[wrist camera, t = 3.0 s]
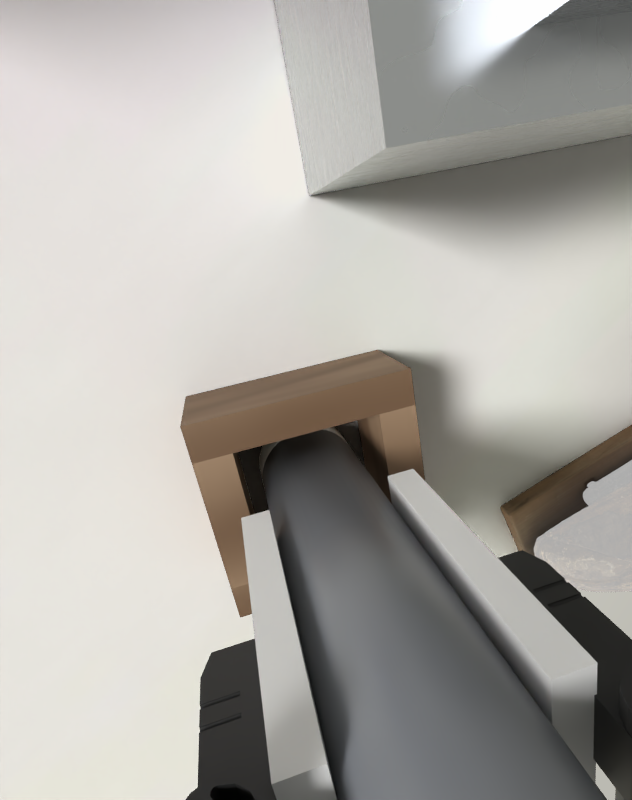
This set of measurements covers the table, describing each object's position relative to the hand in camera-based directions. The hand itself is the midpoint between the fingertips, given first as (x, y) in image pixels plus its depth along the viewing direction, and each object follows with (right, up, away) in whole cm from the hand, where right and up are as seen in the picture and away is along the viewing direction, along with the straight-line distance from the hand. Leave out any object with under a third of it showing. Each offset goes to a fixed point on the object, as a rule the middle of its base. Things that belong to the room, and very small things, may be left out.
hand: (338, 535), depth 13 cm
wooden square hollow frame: (-1, +1, +5) cm, 5 cm away
